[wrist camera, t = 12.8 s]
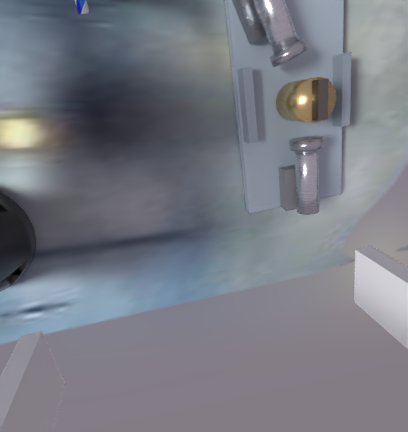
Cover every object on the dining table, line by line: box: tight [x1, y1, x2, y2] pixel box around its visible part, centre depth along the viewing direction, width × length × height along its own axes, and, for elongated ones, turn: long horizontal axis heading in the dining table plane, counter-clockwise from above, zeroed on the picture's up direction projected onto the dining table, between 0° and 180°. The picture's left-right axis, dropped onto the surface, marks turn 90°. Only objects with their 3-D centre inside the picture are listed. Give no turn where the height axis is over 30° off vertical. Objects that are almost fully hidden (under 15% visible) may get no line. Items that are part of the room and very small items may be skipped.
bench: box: [224, 0, 351, 213], centre depth 41 cm, size 15×30×4 cm, turn 9°
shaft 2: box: [289, 136, 323, 215], centre depth 42 cm, size 4×10×4 cm, turn 9°
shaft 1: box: [232, 0, 308, 67], centre depth 35 cm, size 5×10×6 cm, turn 29°
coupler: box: [276, 77, 336, 123], centre depth 38 cm, size 5×5×7 cm
